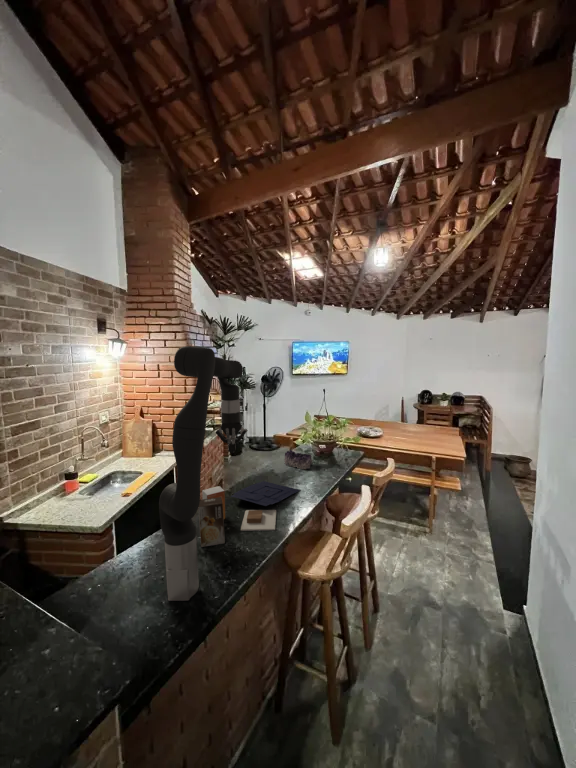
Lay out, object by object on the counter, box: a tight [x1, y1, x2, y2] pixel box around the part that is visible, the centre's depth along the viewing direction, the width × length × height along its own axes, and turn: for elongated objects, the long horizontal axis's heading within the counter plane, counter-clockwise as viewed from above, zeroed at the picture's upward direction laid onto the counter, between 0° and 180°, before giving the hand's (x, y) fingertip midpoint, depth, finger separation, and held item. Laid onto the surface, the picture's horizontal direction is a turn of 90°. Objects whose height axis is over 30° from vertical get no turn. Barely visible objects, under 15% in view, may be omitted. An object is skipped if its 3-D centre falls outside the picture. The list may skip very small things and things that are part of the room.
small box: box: [201, 485, 226, 520], centre depth 144 cm, size 8×6×13 cm
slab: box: [247, 509, 263, 523], centre depth 142 cm, size 2×6×7 cm
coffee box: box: [198, 497, 226, 548], centre depth 126 cm, size 9×6×16 cm
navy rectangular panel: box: [231, 480, 301, 507], centre depth 165 cm, size 24×30×4 cm
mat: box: [240, 509, 277, 532], centre depth 142 cm, size 16×14×1 cm
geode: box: [283, 449, 313, 470], centre depth 208 cm, size 20×12×10 cm, turn 59°
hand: (232, 452), depth 134 cm, fingers closed
